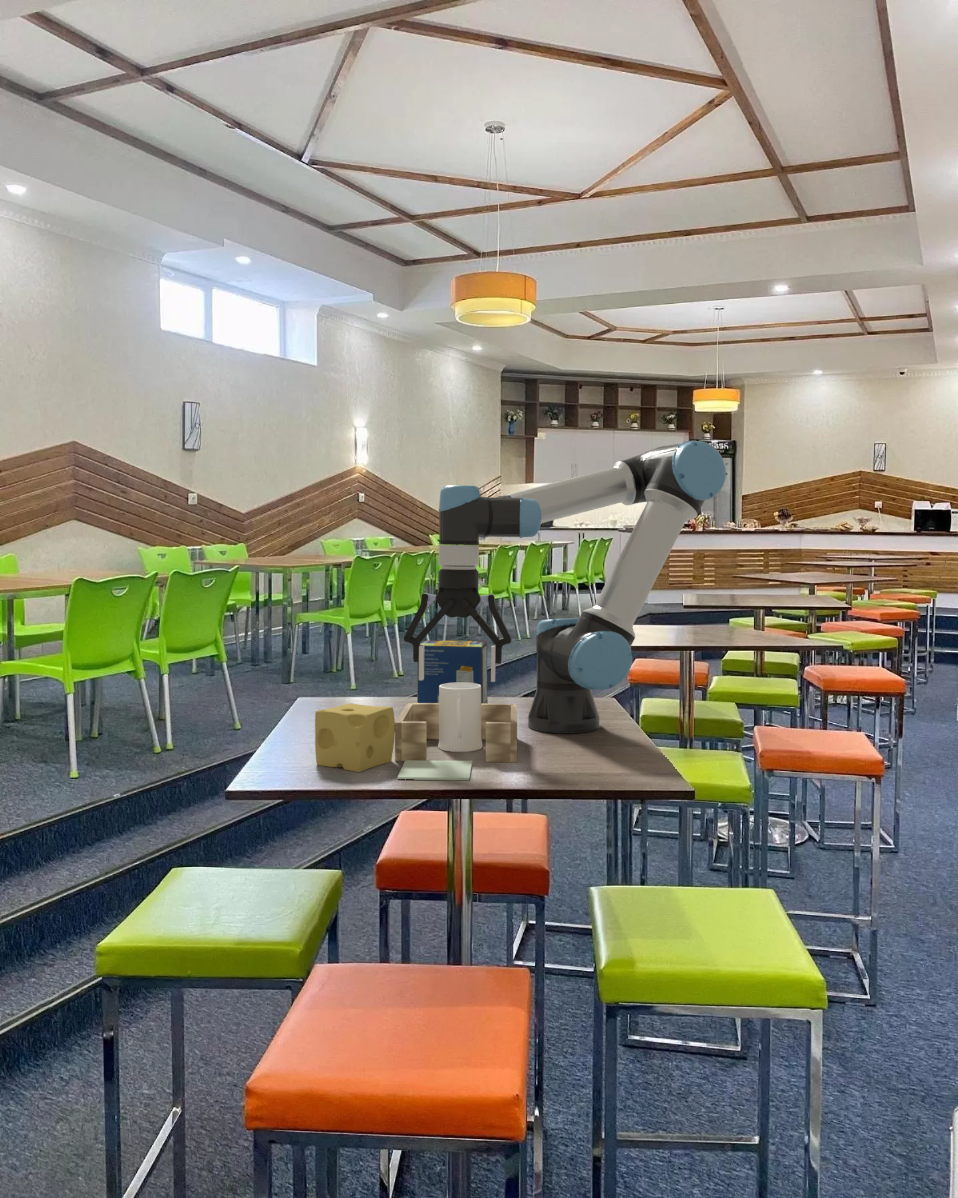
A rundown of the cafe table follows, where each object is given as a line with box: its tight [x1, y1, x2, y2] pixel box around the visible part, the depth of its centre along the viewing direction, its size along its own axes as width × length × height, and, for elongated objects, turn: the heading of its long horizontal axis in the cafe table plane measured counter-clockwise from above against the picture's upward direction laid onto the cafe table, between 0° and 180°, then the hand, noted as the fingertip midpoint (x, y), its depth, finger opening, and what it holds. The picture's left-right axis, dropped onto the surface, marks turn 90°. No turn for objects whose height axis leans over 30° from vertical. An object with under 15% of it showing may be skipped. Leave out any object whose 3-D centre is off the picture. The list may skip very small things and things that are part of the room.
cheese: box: [314, 703, 396, 773], centre depth 170 cm, size 10×11×10 cm
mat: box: [396, 759, 473, 781], centre depth 165 cm, size 12×12×1 cm
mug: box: [437, 682, 483, 753], centre depth 181 cm, size 12×8×12 cm
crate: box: [394, 702, 518, 763], centre depth 181 cm, size 22×20×7 cm
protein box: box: [416, 639, 489, 704], centre depth 224 cm, size 10×15×16 cm
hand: (457, 680), depth 181 cm, fingers open, 13 cm apart
